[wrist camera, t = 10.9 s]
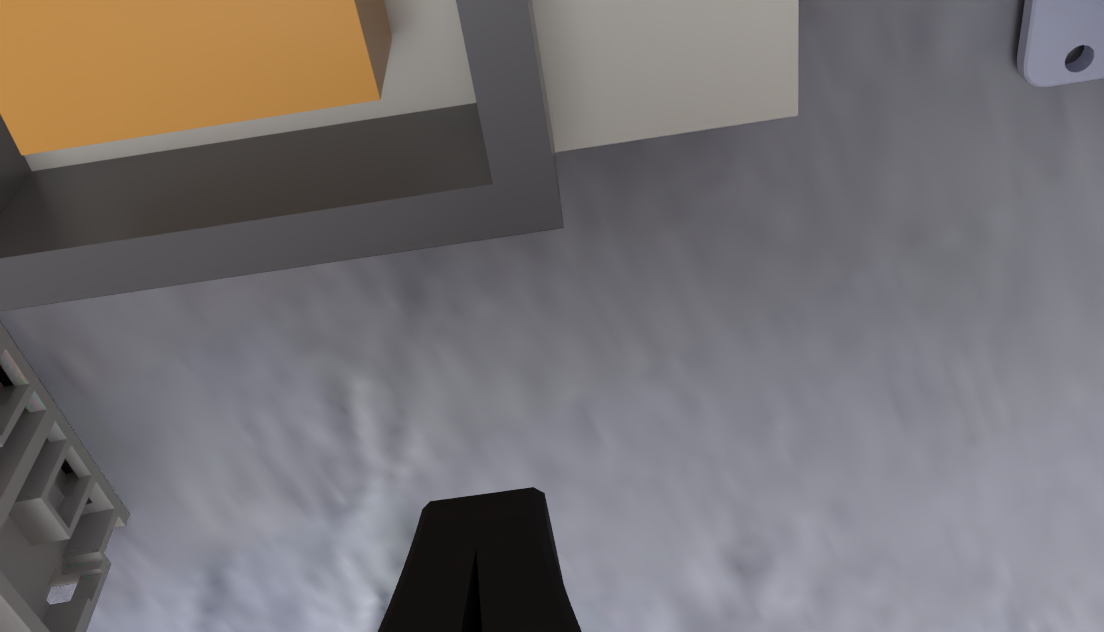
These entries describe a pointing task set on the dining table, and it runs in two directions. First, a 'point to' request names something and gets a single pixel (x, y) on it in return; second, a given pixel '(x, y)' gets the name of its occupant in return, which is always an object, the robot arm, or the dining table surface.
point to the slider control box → (394, 145)
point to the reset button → (180, 64)
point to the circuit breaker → (47, 508)
